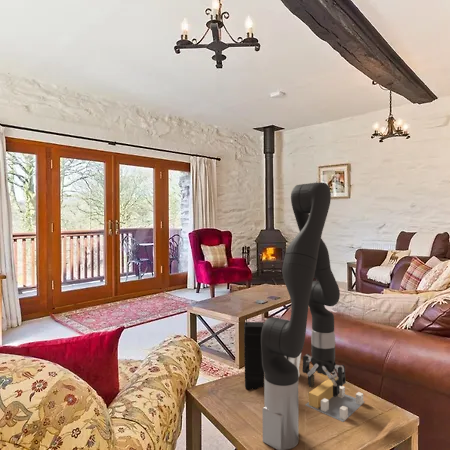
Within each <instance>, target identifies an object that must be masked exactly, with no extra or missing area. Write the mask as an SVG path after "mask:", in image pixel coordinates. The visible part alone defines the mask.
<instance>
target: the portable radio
mask: <svg viewBox="0 0 450 450" xmlns="http://www.w3.org/2000/svg"><path fill="white" fill-rule="evenodd" d="M247 318H248V317H246V316H245V322H244V325H243V327H244V329H243V331H244V332H243V333H244V336H243V337H244V338H243V339H244V341H243V342H244V387H245V389H246V390H257V389H259V388H264V370H263V367H262V351H261V332H262V327H263V324H264V322H265V321H264V322H263V321H258V322H257V321H247V320H248V319H247Z"/></svg>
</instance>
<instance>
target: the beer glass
mask: <svg viewBox="0 0 450 450" xmlns="http://www.w3.org/2000/svg"><path fill="white" fill-rule="evenodd" d="M285 357H286V358H287V359H288V360H289V361H290V362H292V363H293V364H294V365H295V366H296V367H297V369H298V378H300V377H301V376H300V364H301V358H302V353H301V354H300V355H299V356H298V357H297V358H290V357H287V356H285Z"/></svg>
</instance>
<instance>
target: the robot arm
mask: <svg viewBox="0 0 450 450" xmlns="http://www.w3.org/2000/svg"><path fill="white" fill-rule="evenodd" d="M331 199H332V195H331V189H330V186H329V185H328V184H327V183H326V182H321V181H320V182H310V183H302V184H296V185H295V186H294V187H293V188H292V190H291V193H290V203H291V208H292V211H293V214H294V218H295V221H296V225H297V228H298V231H299V232H297V234H296V235H295V237H294V238H293V239H292V241H291V242H290V243H289V244H288V246H287V248H286V251H285V254H284V259H283V263H282V267H281V268H282V269H281V272H282V279H283V281H284V284H285V287H286V289H287V291H288V295H289V299H290V303H291V310H290V311H291V312H290V313H291V314H290V319H283V318H280V317H279V318H277V317H268V318H267V319H266V320H264V324H263V327H262V332H261V351H262V367H263V370H264V387H263V389H264V390H263V391H264V393H263V394H264V395H263V396H264V398H263V400H264V406H263V407H262V442H263V443H264V444H266V445H268V446H269V447H271V448H273V449H276V450H291V449H294V448H295V447H297V445H298V444H299V377H298V369H297V367H296V366H295V365H294V364H293V363H292V362H290V361H289V360H288V359H287V358H286V357H285V356H287V357H290V358H297V357H298V356H299V355H300V354H301V355H302V353H303V352H302V351H303V349H304V346H305V340H306V334H307V333H306V332H307V326H308V324H307V323H308V313H309V312H310V315H311V337H310V338H311V340H310V341H311V343H310V344H311V346H310V347H311V350H310V351H311V355H310V353H306V354H304V355H303V356H302V373H304V374H306V375H307V384H308V385H309V386H308V387H309V388H313V387H314V386H315V373H316V372H317V374H321V375H323V376H327V377H328V378H329V379H330V380H331V381H332V383H333V396H334V397H336V396H337V395H338V394H339V393H340V386H344V385H346V384H347V383H346V382H347V381H346V368H345V367H346V366H345V365H344V364H336V361H335V360H336V333H335V316H334V314H333V312H331V311H330V310H329V309H327V308H326V307H335V306H336V305H337V304H338V303H339V300H340V297H341V295H340V294H341V293H340V288H339V284H338V283H337V280H336V277H335V275H334V273H333V271H332V269H331V268H332V267H331V260H330V253H329V250H328V247H327V245H326V243H325V242H324V240H323V239H322V235H323V231H324V227H325V224H326V221H327V217H328V213H329V209H330V205H331ZM314 280H315V281H314ZM310 362H311V364H312V367H311V369H310Z"/></svg>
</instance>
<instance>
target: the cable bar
mask: <svg viewBox="0 0 450 450" xmlns="http://www.w3.org/2000/svg"><path fill="white" fill-rule="evenodd" d="M332 397H333V383H332V381H331V380H330V379H329V378H328V379H326V380H325V381H323V382H322V383H320V384H318V385H317V386H316V387H315V388H313V389H312V390H310V391H309V392H308V402H309V405H310V406H313V407H315V408H317V409H318V408H319V407H321V400H322V399H323V398H325V399H328V400H329V399H331V398H332Z"/></svg>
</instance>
